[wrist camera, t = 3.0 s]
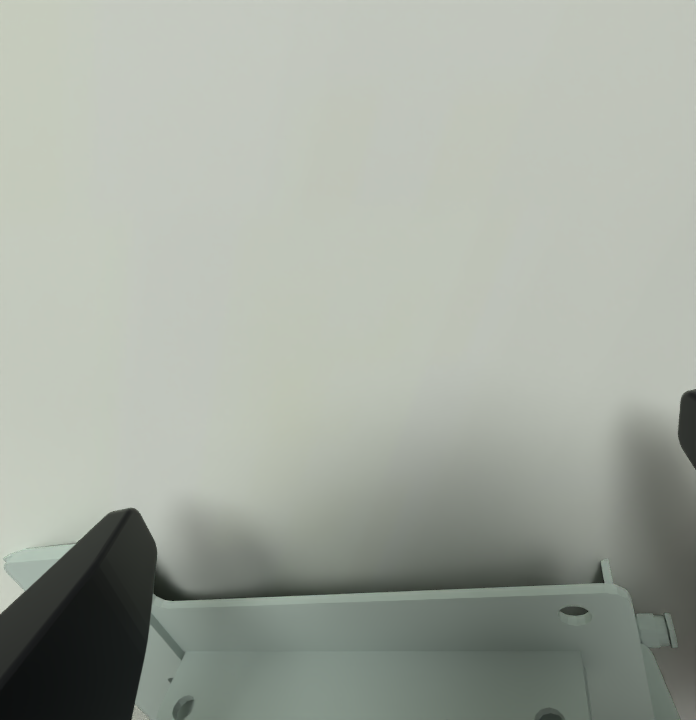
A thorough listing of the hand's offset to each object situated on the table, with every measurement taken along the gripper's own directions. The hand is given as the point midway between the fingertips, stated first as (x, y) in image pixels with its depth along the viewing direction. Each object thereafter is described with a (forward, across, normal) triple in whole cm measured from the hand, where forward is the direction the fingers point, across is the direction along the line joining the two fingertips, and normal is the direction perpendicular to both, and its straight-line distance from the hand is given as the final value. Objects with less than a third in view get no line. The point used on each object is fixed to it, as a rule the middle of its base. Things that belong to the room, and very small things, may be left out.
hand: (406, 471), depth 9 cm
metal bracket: (+3, +2, +8) cm, 9 cm away
